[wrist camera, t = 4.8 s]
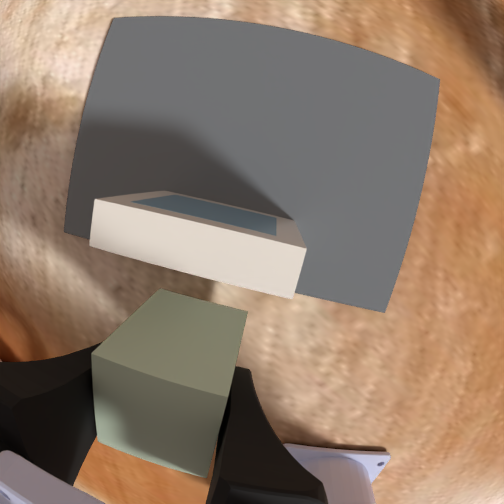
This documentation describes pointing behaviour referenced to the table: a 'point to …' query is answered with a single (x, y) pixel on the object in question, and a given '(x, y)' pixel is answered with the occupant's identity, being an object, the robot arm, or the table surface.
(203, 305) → the sage block
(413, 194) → the mat
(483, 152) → the table surface
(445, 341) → the table surface
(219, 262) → the tile
